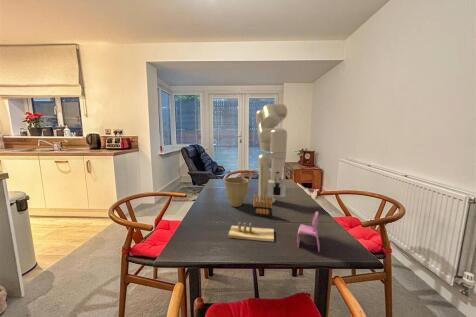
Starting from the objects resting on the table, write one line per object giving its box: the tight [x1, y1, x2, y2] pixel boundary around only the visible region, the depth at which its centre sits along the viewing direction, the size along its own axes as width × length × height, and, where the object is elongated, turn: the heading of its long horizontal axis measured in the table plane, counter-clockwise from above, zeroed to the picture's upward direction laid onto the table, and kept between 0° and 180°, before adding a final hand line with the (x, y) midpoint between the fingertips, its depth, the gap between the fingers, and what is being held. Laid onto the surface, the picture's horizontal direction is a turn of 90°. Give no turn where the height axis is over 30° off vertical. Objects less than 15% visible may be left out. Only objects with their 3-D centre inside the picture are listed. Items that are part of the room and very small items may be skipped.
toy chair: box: [296, 210, 320, 253], centre depth 85 cm, size 8×9×15 cm
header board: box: [227, 221, 275, 242], centre depth 95 cm, size 9×20×5 cm, turn 81°
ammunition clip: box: [252, 193, 273, 218], centre depth 115 cm, size 11×2×12 cm, turn 77°
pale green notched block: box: [268, 180, 287, 198], centre depth 100 cm, size 5×8×6 cm, turn 81°
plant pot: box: [223, 176, 249, 208], centre depth 130 cm, size 15×15×16 cm
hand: (276, 192), depth 101 cm, fingers closed on pale green notched block, 4 cm apart
